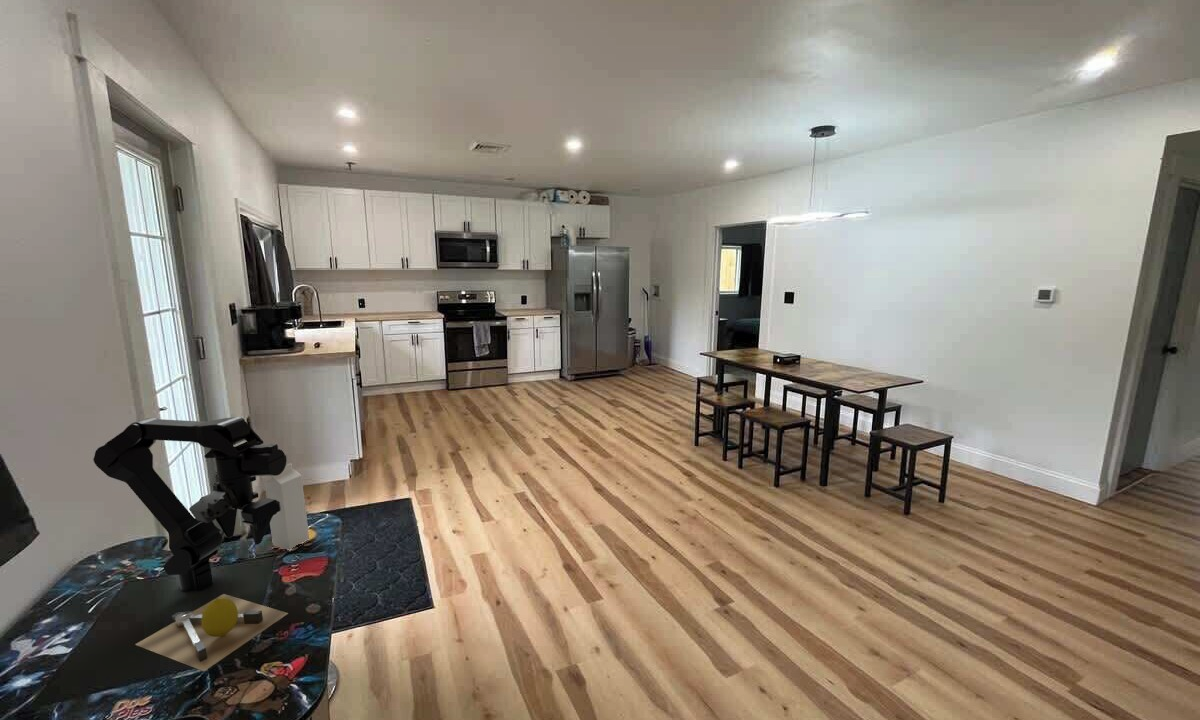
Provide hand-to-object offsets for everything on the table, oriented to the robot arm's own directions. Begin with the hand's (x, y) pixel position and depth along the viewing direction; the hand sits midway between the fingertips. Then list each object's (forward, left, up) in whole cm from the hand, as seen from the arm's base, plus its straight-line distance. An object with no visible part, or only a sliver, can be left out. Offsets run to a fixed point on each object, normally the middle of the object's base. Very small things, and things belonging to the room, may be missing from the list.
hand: (244, 540), depth 109 cm
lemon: (+12, -13, -11) cm, 21 cm away
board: (+8, -13, -12) cm, 19 cm away
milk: (-9, +17, -12) cm, 23 cm away
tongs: (+7, -14, -11) cm, 18 cm away
